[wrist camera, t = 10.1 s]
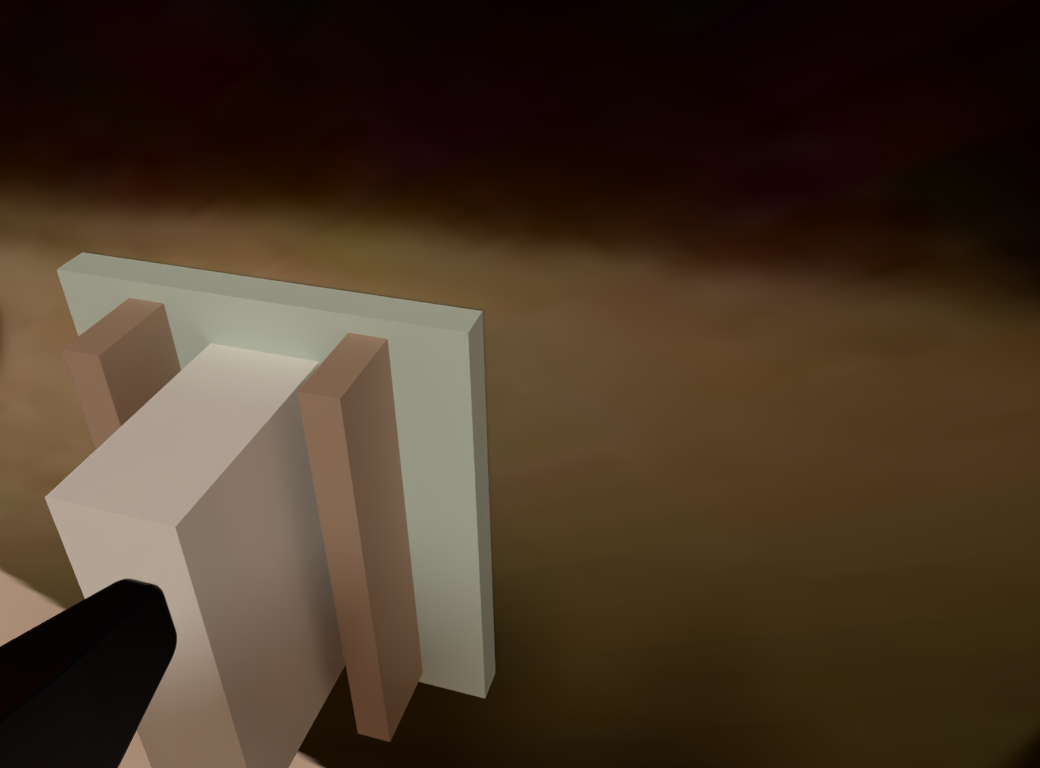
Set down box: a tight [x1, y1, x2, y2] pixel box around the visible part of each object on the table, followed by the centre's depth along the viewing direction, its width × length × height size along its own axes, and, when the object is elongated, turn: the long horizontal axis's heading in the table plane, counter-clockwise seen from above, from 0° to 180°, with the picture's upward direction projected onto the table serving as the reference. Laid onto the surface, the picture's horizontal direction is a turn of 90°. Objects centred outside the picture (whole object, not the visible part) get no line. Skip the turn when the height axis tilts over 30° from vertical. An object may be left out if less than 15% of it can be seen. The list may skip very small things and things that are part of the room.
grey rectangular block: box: [45, 343, 346, 768], centre depth 23 cm, size 3×10×6 cm, turn 0°
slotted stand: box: [57, 253, 495, 742], centre depth 25 cm, size 11×13×4 cm
